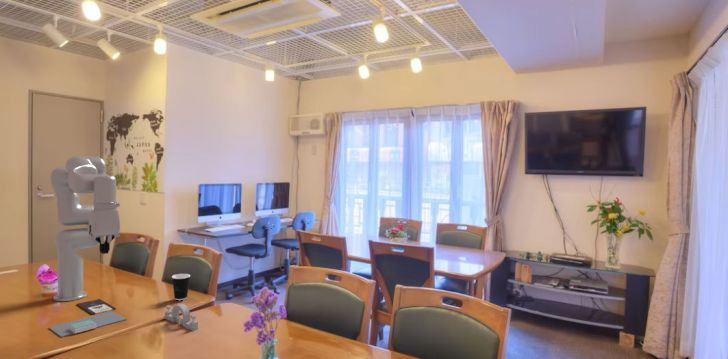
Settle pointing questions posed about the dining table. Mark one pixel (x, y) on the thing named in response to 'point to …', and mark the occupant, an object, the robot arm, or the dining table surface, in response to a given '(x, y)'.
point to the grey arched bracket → (185, 312)
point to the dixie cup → (180, 286)
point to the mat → (98, 319)
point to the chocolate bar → (95, 306)
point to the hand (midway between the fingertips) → (104, 253)
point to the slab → (82, 326)
